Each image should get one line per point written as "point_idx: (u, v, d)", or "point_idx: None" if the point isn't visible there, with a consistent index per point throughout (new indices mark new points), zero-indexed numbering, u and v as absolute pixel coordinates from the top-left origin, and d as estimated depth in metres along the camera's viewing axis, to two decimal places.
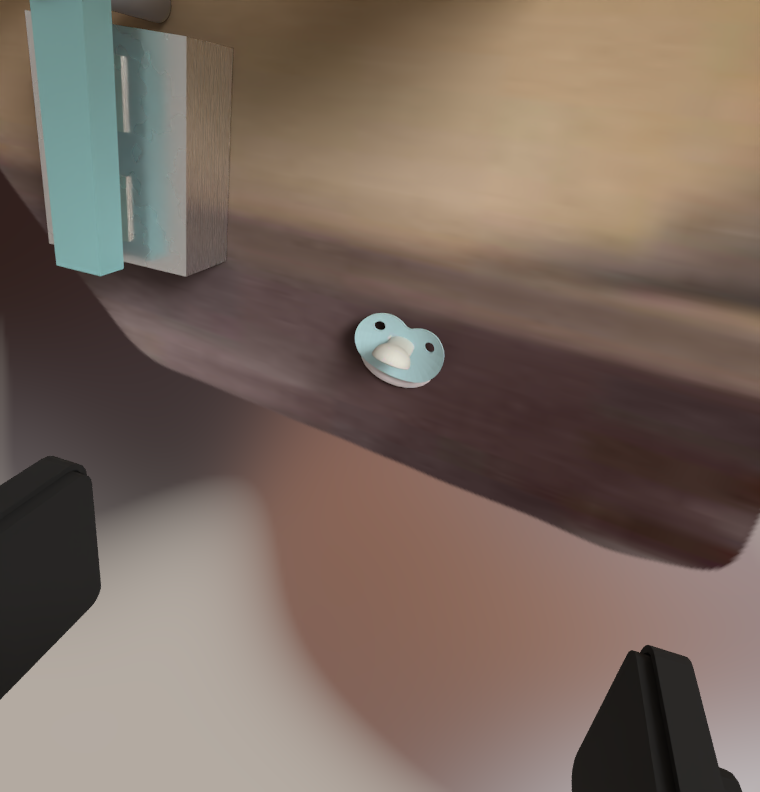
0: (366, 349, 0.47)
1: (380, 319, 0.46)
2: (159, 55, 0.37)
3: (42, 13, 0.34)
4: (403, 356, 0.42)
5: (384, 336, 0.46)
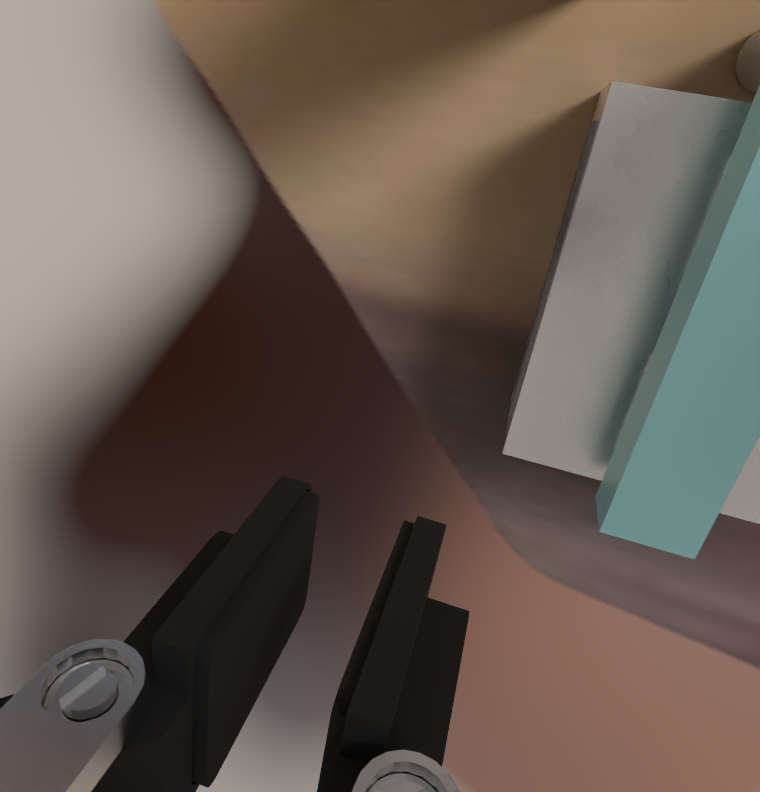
0: None
1: None
2: None
3: None
4: None
5: None
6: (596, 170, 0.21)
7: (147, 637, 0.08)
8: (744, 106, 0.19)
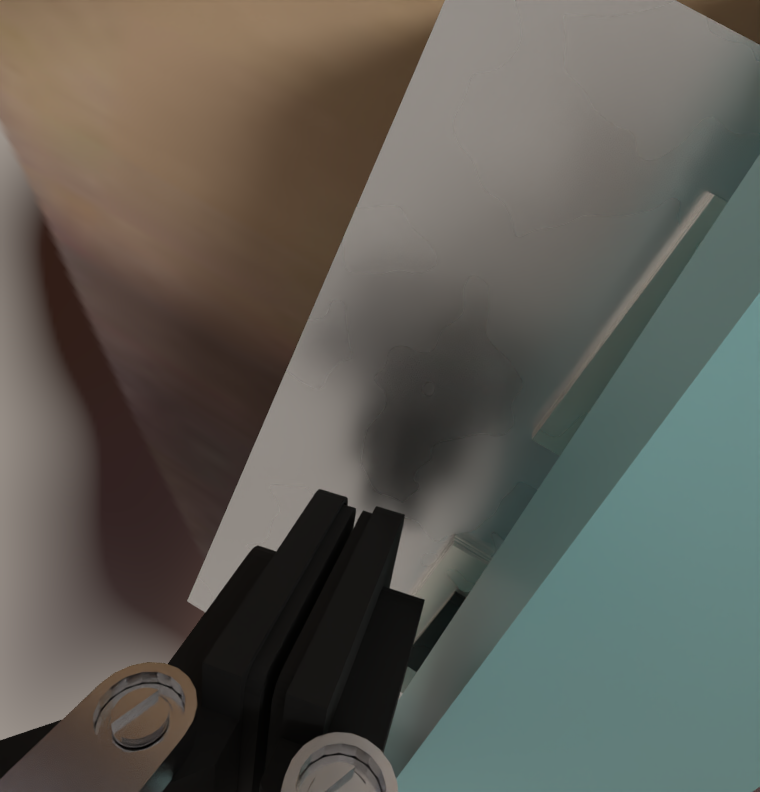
0: None
1: None
2: None
3: None
4: None
5: None
6: (413, 132, 0.09)
7: (192, 658, 0.08)
8: None
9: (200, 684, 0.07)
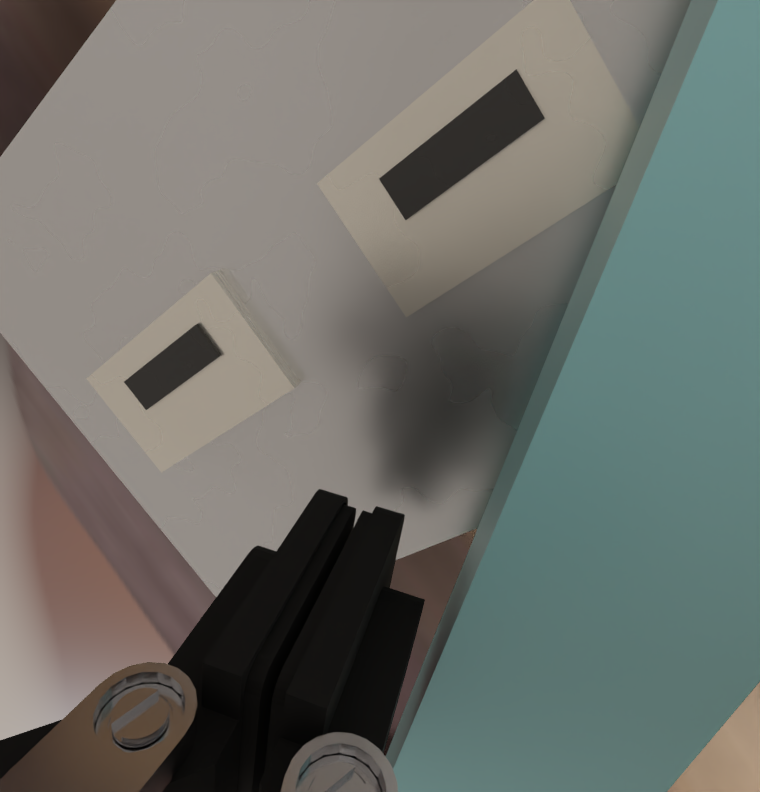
0: None
1: None
2: None
3: None
4: None
5: None
6: None
7: (192, 658, 0.08)
8: None
9: (200, 684, 0.07)
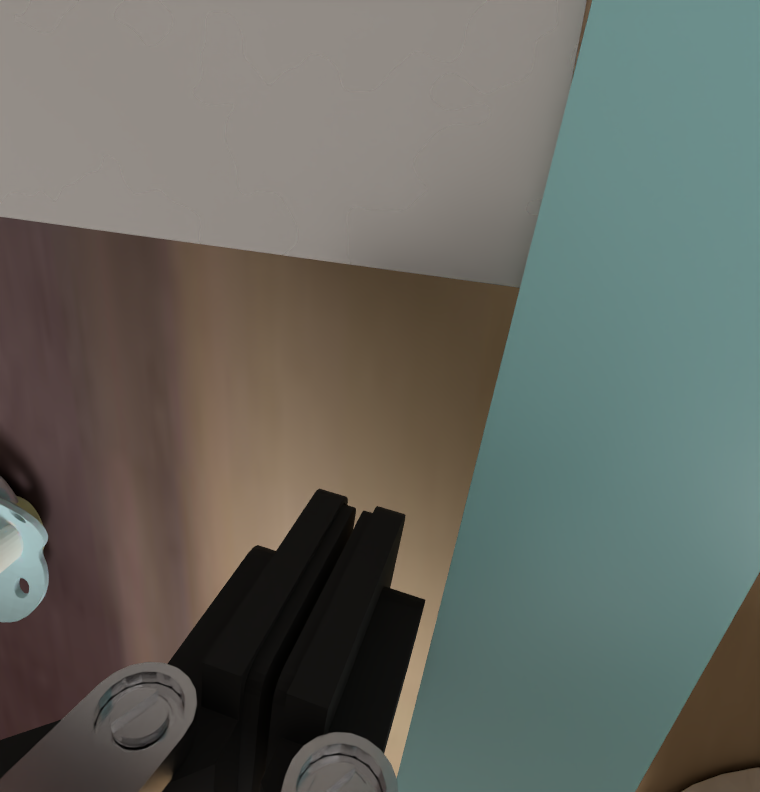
0: None
1: (26, 521, 0.24)
2: (473, 168, 0.10)
3: None
4: None
5: (7, 516, 0.25)
6: None
7: (192, 658, 0.08)
8: None
9: (200, 684, 0.07)
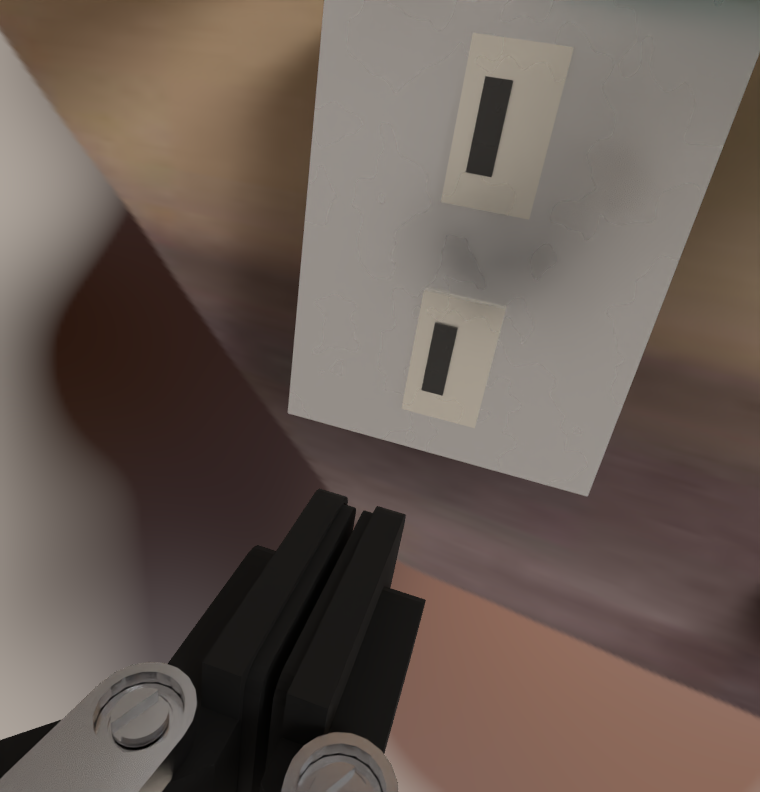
0: None
1: None
2: (680, 46, 0.15)
3: None
4: None
5: None
6: (330, 59, 0.18)
7: (192, 658, 0.08)
8: None
9: (200, 684, 0.07)
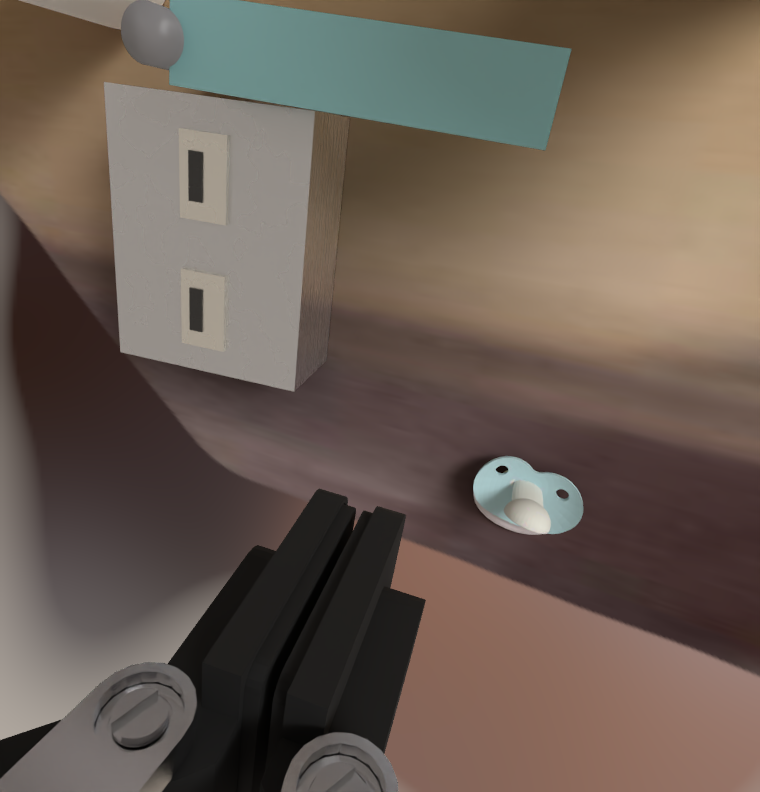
0: (484, 495, 0.40)
1: (503, 463, 0.39)
2: (278, 134, 0.30)
3: (204, 69, 0.26)
4: (546, 518, 0.35)
5: (505, 480, 0.40)
6: (113, 141, 0.32)
7: (192, 658, 0.08)
8: (177, 95, 0.30)
9: (200, 684, 0.07)
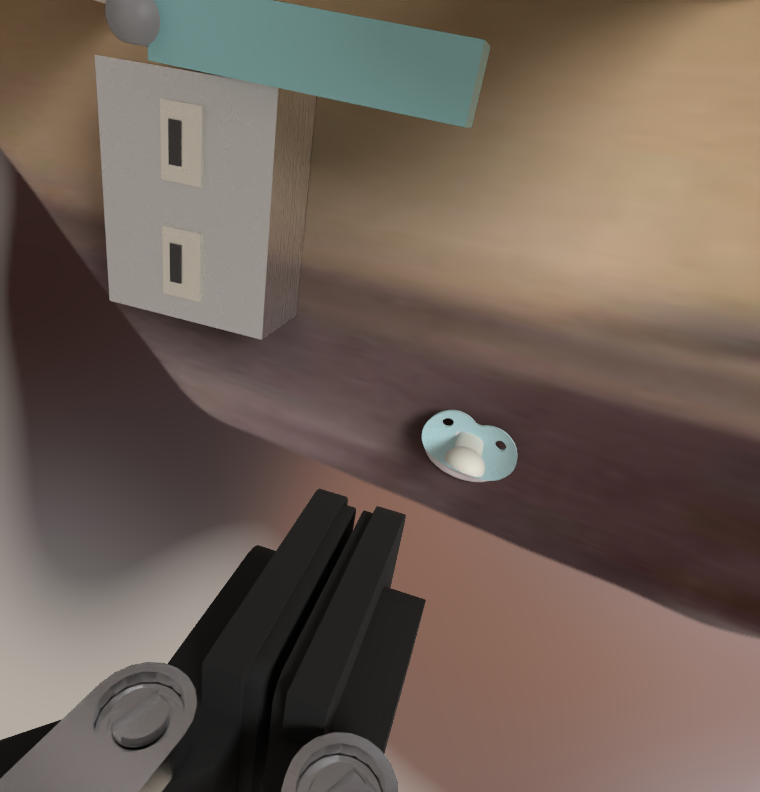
0: (432, 445, 0.45)
1: (449, 416, 0.43)
2: (246, 106, 0.34)
3: (177, 48, 0.29)
4: (479, 463, 0.40)
5: (451, 432, 0.44)
6: (102, 108, 0.36)
7: (192, 658, 0.08)
8: (159, 68, 0.34)
9: (200, 684, 0.07)
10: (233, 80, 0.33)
